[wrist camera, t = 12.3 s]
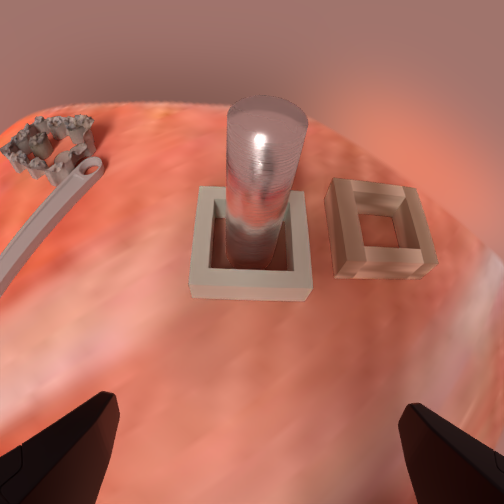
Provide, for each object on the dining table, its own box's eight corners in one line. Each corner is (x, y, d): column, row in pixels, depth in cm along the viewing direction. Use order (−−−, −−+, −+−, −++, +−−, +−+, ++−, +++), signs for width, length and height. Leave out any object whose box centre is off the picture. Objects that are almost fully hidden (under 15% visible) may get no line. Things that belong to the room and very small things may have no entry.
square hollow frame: (297, 209, 26) (303, 191, 24) (304, 301, 22) (313, 288, 20) (201, 205, 26) (199, 186, 24) (192, 297, 22) (188, 284, 20)
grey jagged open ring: (107, 145, 29) (98, 115, 26) (61, 197, 26) (45, 169, 22) (49, 127, 30) (38, 102, 27) (8, 171, 27) (-7, 147, 23)
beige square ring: (402, 207, 28) (415, 188, 25) (420, 279, 24) (438, 263, 21) (323, 199, 27) (333, 177, 24) (334, 278, 24) (347, 260, 21)
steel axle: (282, 254, 24) (324, 125, 13) (246, 281, 23) (264, 155, 12) (252, 223, 25) (270, 88, 14) (216, 247, 24) (211, 111, 13)
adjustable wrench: (95, 162, 28) (90, 150, 27) (135, 189, 27) (131, 176, 25) (-59, 342, 17) (-70, 337, 16) (-33, 392, 16) (-46, 389, 14)
